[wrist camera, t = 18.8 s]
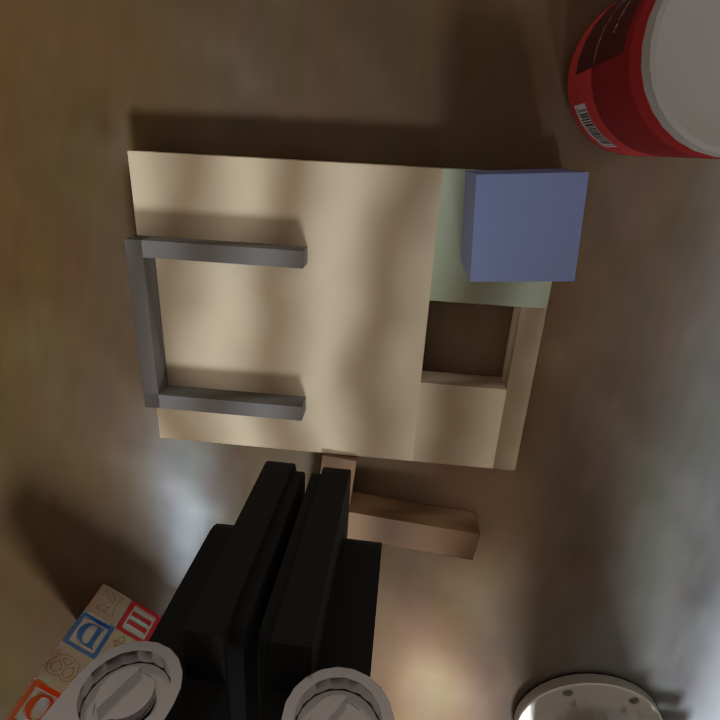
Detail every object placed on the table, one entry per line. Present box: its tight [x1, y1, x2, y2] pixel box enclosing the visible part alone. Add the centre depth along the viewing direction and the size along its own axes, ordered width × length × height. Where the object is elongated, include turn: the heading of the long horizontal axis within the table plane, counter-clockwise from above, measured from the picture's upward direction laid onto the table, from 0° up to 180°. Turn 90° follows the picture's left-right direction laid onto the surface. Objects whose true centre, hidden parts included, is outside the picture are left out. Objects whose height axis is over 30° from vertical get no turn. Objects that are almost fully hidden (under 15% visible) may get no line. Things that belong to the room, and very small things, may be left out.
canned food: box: [568, 0, 720, 159], centre depth 22 cm, size 8×8×11 cm
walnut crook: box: [320, 453, 480, 560], centre depth 38 cm, size 12×7×2 cm, turn 82°
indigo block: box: [461, 168, 589, 282], centre depth 27 cm, size 5×5×5 cm
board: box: [125, 151, 552, 471], centre depth 32 cm, size 25×19×4 cm
